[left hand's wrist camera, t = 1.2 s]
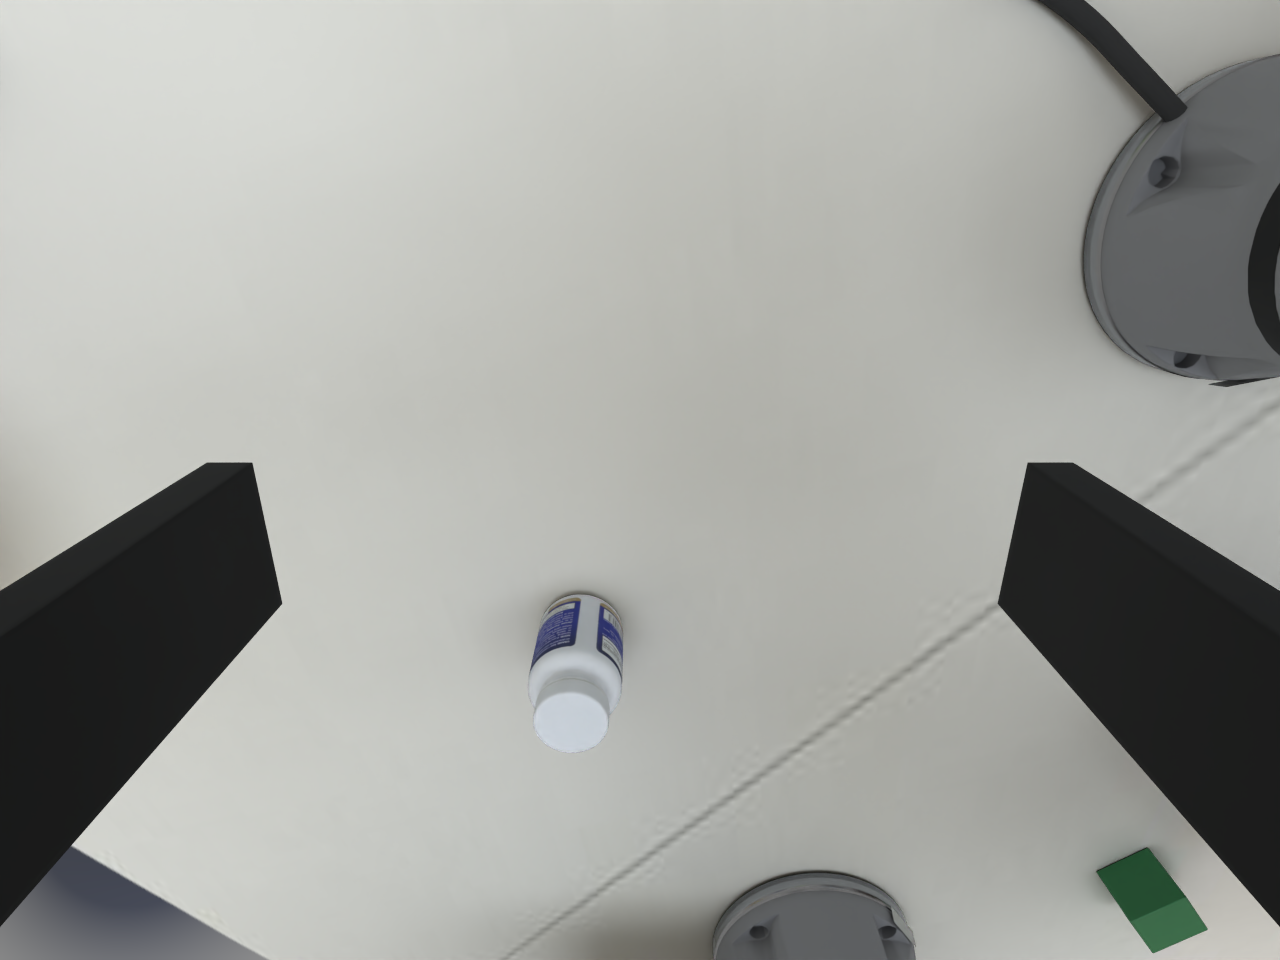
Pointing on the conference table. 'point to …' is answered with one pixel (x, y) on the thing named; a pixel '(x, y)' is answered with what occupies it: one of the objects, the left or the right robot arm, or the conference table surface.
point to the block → (1151, 900)
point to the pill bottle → (576, 672)
